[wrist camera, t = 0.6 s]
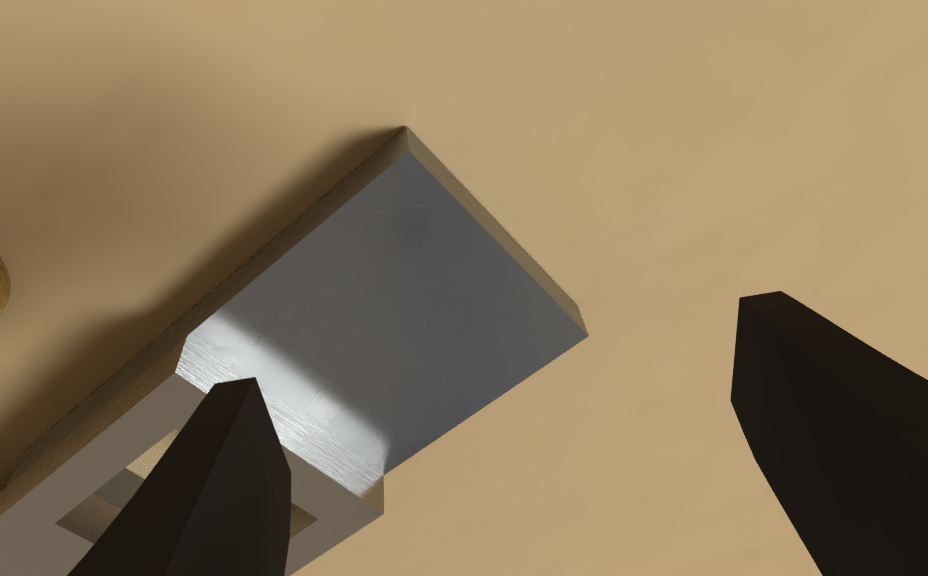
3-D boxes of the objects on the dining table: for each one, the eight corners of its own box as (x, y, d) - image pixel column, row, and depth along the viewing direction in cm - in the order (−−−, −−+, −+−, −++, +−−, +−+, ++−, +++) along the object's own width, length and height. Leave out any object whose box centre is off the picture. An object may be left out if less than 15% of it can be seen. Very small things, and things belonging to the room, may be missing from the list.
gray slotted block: (406, 126, 19) (411, 178, 17) (577, 305, 23) (601, 370, 21) (-114, 568, 26) (-165, 651, 24) (80, 651, 30) (53, 731, 28)
